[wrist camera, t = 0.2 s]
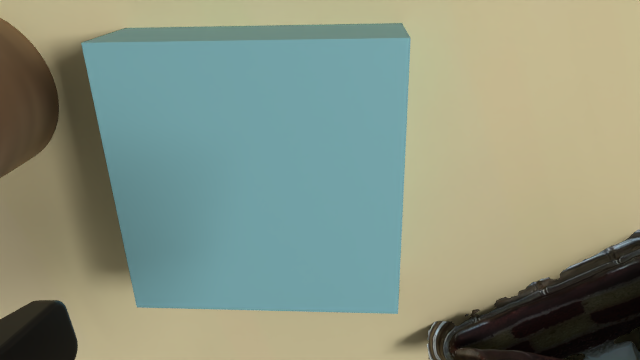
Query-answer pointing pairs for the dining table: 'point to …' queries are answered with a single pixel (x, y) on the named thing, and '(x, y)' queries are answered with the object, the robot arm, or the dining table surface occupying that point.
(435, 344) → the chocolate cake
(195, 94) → the base block
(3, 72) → the brown vase
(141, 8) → the dining table surface
